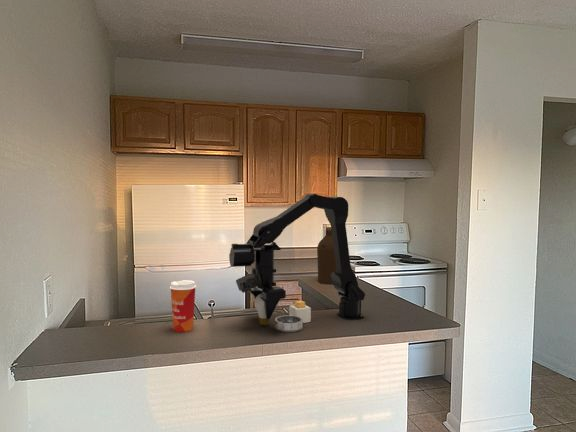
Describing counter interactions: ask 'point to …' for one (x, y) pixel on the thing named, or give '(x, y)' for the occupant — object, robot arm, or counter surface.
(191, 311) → the paper cup
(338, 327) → the counter surface
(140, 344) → the counter surface
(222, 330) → the counter surface
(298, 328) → the grey round shallow bowl
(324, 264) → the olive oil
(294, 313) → the white jar
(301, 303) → the breaker button
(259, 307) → the light bulb
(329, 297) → the counter surface
